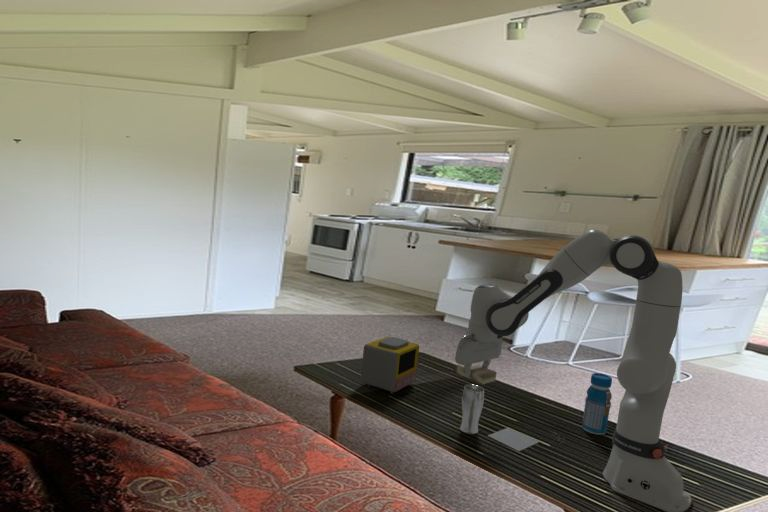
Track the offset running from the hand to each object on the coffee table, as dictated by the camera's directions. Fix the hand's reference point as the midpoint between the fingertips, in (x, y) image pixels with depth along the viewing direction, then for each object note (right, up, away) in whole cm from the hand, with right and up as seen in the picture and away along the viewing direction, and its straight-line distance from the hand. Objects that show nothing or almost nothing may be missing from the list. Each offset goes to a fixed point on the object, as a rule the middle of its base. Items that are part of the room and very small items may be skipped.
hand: (476, 374), depth 168 cm
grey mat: (+12, -21, -1) cm, 24 cm away
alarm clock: (-29, -13, +37) cm, 48 cm away
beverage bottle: (+44, -23, +14) cm, 52 cm away
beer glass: (-2, -20, +2) cm, 20 cm away
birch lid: (0, -1, 0) cm, 1 cm away
